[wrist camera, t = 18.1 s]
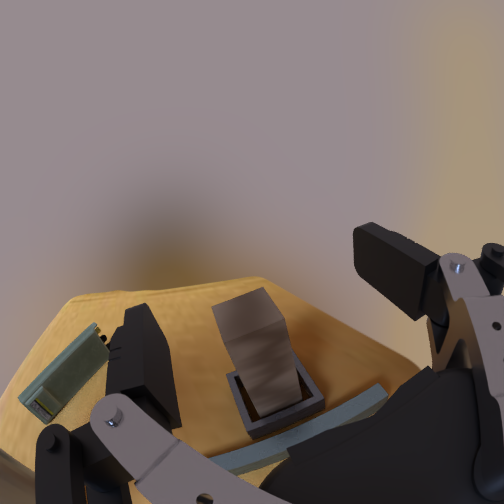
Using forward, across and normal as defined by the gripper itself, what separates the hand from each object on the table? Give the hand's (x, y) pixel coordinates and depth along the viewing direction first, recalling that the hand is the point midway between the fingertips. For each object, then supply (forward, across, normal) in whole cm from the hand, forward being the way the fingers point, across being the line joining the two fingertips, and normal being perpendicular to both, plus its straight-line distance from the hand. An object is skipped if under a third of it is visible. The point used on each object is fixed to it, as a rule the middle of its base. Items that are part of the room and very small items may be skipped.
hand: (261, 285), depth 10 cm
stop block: (+10, -1, +23) cm, 25 cm away
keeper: (+8, 0, +23) cm, 24 cm away
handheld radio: (+24, +28, +24) cm, 44 cm away
